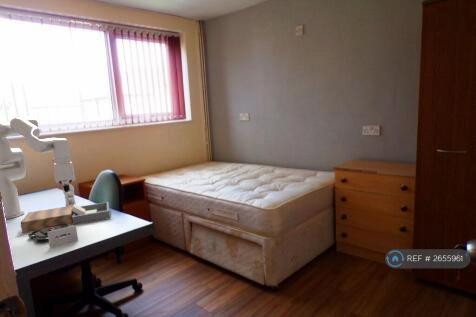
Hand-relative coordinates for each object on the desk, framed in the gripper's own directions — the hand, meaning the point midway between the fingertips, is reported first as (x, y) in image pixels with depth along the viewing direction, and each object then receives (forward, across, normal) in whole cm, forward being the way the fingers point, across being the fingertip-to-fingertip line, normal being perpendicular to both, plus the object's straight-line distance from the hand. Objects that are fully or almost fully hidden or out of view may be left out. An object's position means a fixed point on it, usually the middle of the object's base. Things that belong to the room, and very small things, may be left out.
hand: (67, 191), depth 188 cm
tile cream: (+13, +4, 0) cm, 13 cm away
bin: (+17, +12, -1) cm, 20 cm away
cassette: (+17, +1, -41) cm, 44 cm away
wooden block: (+17, -10, -1) cm, 20 cm away
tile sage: (+14, +11, -1) cm, 18 cm away
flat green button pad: (+17, -6, -24) cm, 30 cm away
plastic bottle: (+18, -1, +20) cm, 27 cm away
